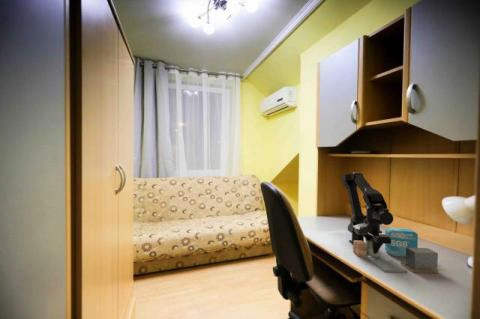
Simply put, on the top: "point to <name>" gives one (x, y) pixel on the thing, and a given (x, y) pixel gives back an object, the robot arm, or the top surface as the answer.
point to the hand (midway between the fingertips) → (372, 251)
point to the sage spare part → (371, 249)
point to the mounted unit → (421, 260)
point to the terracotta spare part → (359, 248)
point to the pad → (389, 266)
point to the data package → (400, 241)
